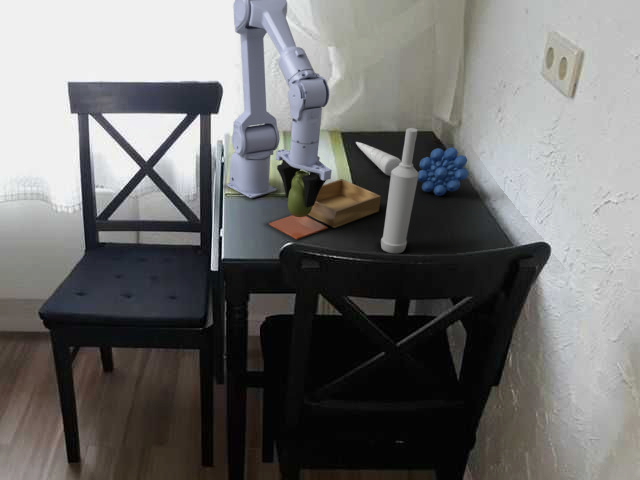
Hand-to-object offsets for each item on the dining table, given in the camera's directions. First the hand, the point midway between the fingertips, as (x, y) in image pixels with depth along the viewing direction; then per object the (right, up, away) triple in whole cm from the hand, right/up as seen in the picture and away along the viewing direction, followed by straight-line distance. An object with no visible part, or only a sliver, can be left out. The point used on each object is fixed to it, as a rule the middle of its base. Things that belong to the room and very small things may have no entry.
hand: (300, 201), depth 160 cm
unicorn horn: (+23, +16, +36) cm, 46 cm away
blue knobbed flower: (+35, +5, +19) cm, 40 cm away
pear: (0, -3, +2) cm, 4 cm away
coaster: (0, -5, +3) cm, 6 cm away
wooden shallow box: (+10, 0, +11) cm, 14 cm away
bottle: (+19, -11, -5) cm, 22 cm away
